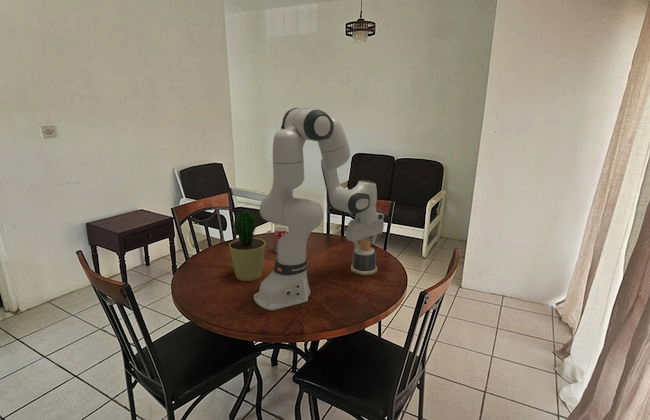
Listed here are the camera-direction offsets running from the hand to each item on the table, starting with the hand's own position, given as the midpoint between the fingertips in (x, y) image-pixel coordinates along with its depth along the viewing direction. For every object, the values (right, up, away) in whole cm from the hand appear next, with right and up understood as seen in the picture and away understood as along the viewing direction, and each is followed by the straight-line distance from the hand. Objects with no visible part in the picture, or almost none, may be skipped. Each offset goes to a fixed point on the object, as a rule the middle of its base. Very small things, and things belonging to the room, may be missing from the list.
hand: (364, 246), depth 165 cm
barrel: (0, -11, +3) cm, 11 cm away
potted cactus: (-51, -13, -3) cm, 53 cm away
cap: (0, -6, +2) cm, 6 cm away
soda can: (-40, -5, +24) cm, 47 cm away
